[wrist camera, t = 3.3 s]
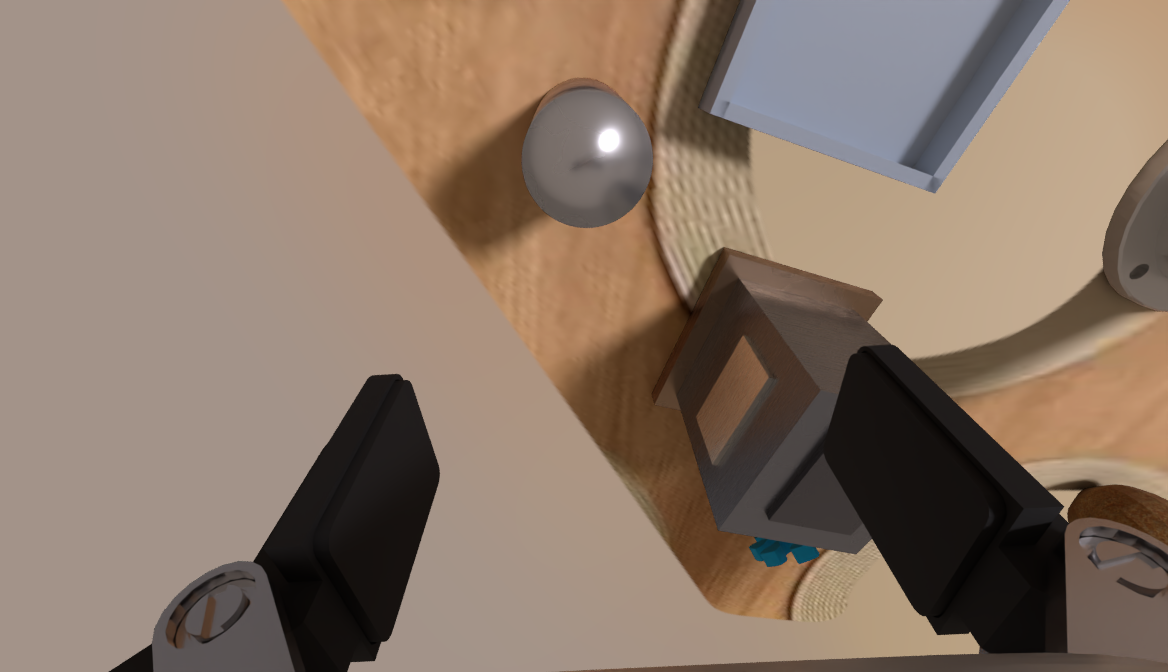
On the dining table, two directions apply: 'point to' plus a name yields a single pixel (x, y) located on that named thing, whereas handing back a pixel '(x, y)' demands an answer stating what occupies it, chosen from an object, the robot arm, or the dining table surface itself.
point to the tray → (875, 76)
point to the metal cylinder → (586, 154)
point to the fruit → (1123, 508)
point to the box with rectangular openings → (769, 397)
